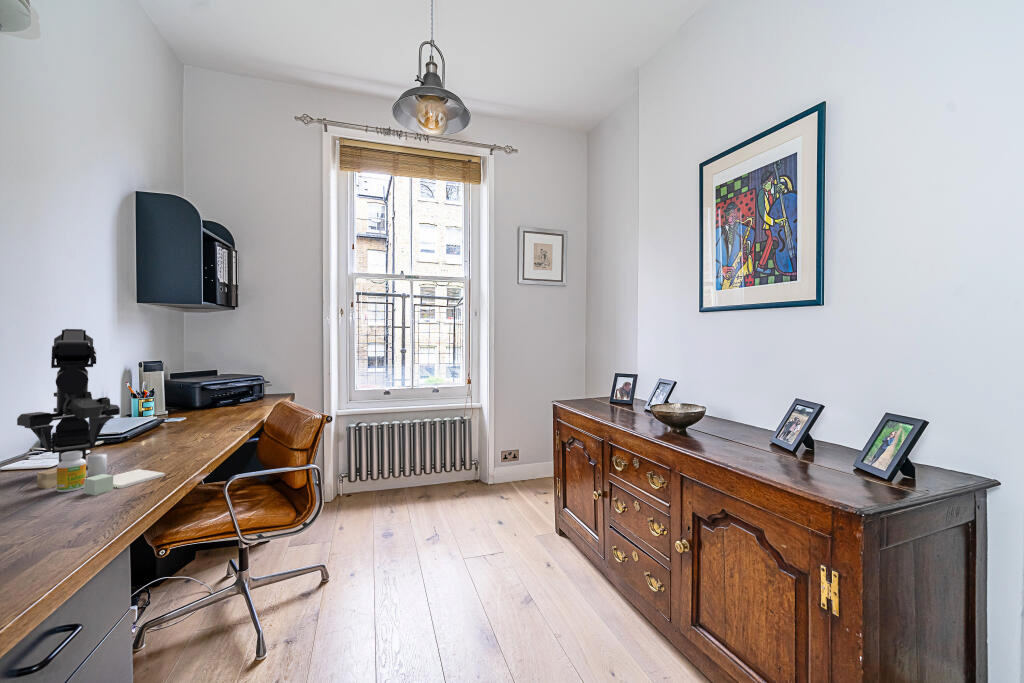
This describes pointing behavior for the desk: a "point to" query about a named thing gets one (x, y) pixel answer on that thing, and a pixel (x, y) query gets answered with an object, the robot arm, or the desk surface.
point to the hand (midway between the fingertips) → (71, 446)
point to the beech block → (47, 479)
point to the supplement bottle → (71, 472)
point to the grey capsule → (97, 465)
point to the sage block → (98, 484)
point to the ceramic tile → (134, 477)
